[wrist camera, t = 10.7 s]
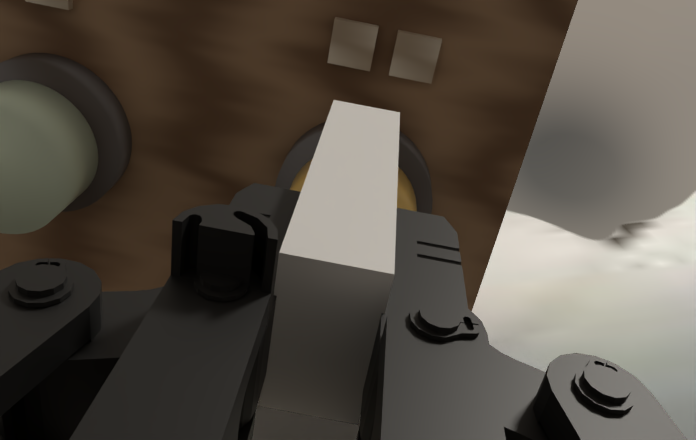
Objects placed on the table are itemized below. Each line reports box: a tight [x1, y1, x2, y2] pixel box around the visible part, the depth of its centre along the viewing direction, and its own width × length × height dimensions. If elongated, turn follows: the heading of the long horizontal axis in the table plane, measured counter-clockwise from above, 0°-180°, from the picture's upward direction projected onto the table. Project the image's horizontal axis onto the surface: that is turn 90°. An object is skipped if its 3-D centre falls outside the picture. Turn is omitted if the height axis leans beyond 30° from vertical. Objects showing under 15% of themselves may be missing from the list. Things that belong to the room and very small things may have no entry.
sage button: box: [0, 80, 98, 234], centre depth 25 cm, size 6×3×6 cm, turn 85°
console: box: [0, 0, 578, 311], centre depth 31 cm, size 28×10×20 cm, turn 85°
